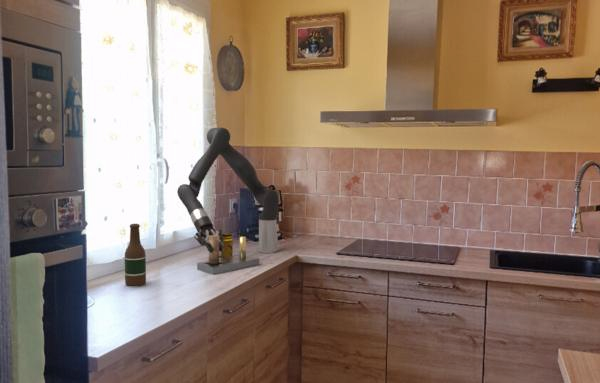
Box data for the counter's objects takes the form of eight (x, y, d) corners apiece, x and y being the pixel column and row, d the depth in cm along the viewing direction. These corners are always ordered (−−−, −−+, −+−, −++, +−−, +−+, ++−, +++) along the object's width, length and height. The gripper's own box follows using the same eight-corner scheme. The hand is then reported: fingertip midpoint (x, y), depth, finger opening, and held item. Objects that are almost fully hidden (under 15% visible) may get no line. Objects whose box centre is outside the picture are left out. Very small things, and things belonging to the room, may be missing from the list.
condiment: (235, 257, 236) (235, 234, 235) (219, 259, 231) (219, 235, 230) (229, 255, 242) (229, 231, 241) (213, 256, 237) (213, 233, 236)
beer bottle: (145, 286, 183) (144, 225, 181) (124, 287, 181) (123, 225, 179) (146, 281, 191) (145, 222, 189) (125, 282, 189) (124, 222, 187)
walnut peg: (215, 260, 213) (215, 234, 212) (221, 262, 210) (221, 236, 209) (207, 262, 210) (207, 235, 209) (212, 264, 207) (213, 237, 206)
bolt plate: (242, 260, 229) (243, 234, 228) (259, 264, 221) (259, 237, 220) (197, 269, 211) (197, 240, 210) (212, 274, 203) (212, 244, 202)
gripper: (191, 216, 208) (206, 248, 201) (217, 214, 219) (233, 243, 211) (184, 227, 213) (199, 258, 205) (210, 224, 223) (226, 253, 215)
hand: (216, 250), depth 208 cm, fingers closed on walnut peg, 4 cm apart
